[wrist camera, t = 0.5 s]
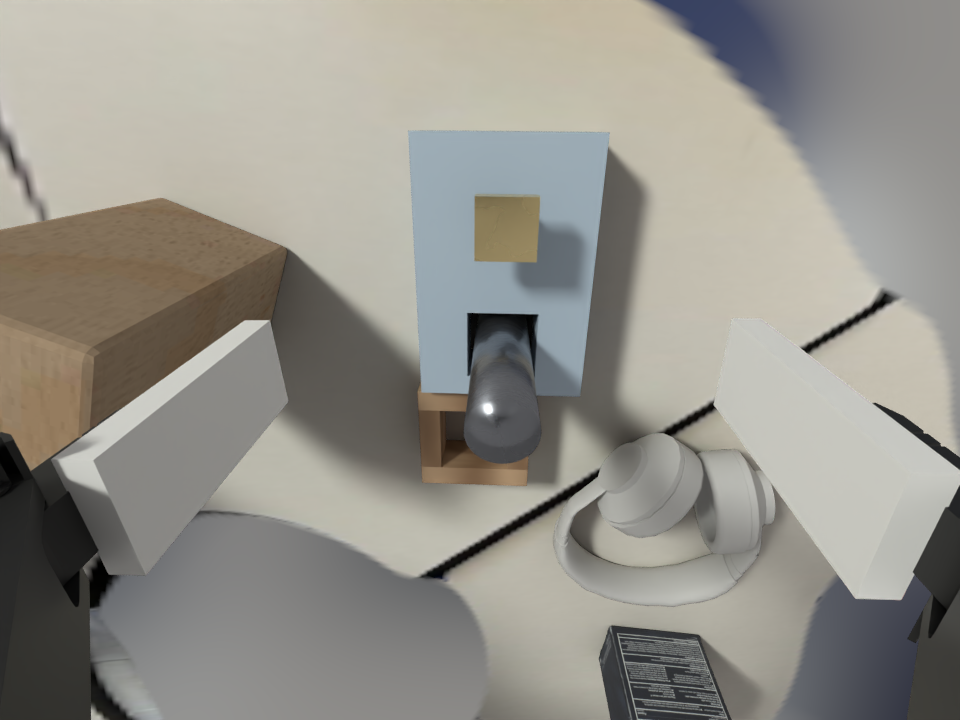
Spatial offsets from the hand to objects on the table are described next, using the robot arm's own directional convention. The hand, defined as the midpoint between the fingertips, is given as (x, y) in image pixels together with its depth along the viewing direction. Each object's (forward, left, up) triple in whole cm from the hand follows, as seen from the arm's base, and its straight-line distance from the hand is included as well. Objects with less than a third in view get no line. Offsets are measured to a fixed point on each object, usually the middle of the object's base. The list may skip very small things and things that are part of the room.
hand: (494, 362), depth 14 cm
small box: (+18, -48, -25) cm, 57 cm away
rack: (-2, -17, -24) cm, 30 cm away
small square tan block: (0, +1, -21) cm, 21 cm away
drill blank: (0, -8, -24) cm, 25 cm away
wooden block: (-23, -5, -25) cm, 34 cm away
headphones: (+16, -27, -25) cm, 40 cm away
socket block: (0, -3, -24) cm, 24 cm away
